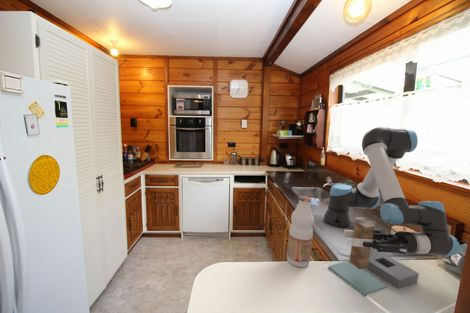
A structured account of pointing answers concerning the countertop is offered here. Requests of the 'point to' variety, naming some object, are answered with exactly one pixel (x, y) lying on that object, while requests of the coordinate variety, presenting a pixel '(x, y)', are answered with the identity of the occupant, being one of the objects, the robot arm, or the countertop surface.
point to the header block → (391, 270)
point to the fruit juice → (301, 234)
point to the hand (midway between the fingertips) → (348, 237)
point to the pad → (357, 278)
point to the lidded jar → (400, 229)
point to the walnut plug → (362, 231)
